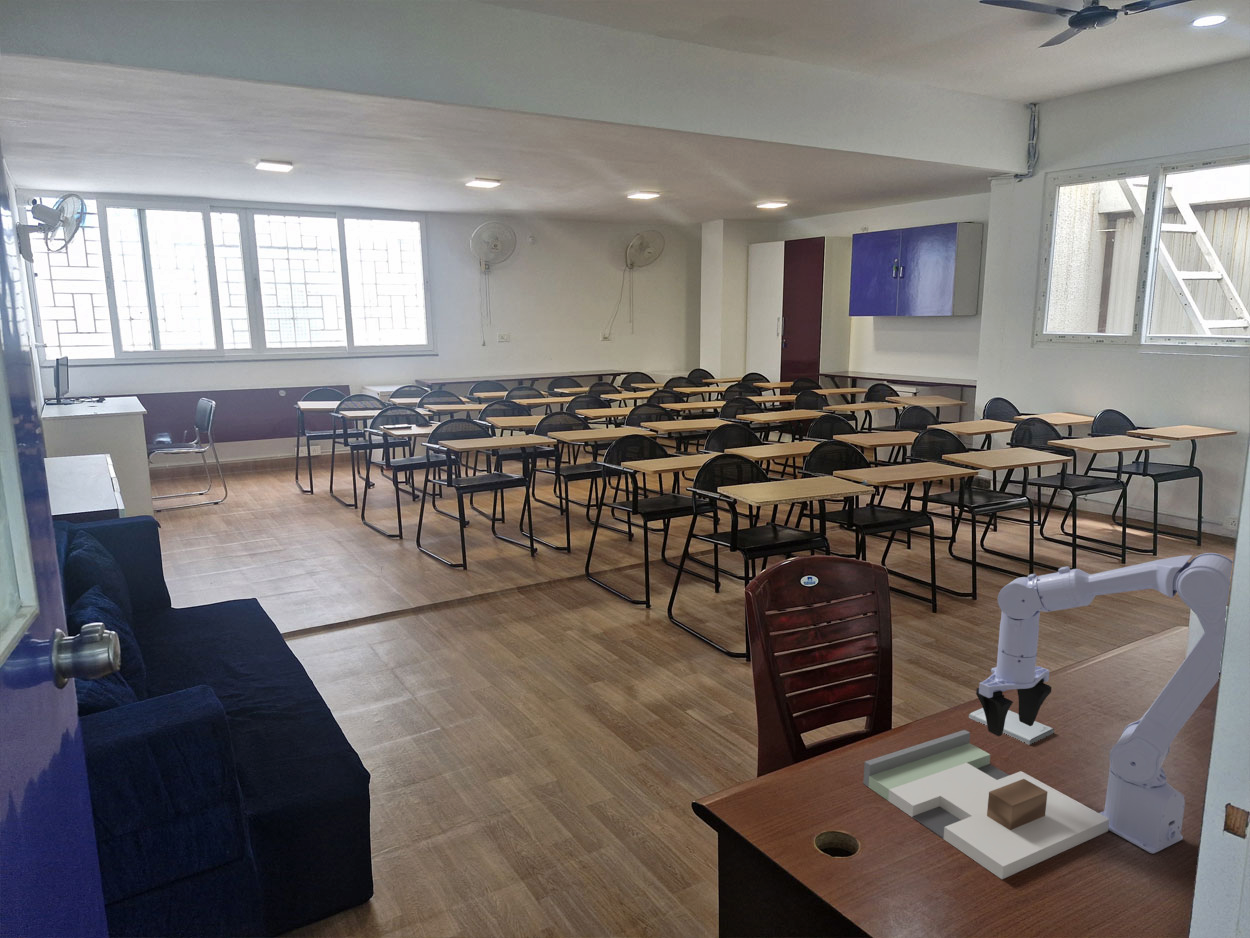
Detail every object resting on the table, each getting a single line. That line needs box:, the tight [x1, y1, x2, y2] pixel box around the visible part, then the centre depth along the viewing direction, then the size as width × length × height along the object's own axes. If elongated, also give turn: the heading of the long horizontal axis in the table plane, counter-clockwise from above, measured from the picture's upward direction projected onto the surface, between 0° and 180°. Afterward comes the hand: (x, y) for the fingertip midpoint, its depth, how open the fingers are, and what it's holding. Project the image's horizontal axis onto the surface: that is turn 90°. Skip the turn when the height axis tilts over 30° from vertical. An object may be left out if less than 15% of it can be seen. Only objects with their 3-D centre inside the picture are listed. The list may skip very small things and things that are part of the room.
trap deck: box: [862, 729, 1110, 880], centre depth 127 cm, size 27×24×4 cm
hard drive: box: [968, 707, 1055, 746], centre depth 154 cm, size 2×8×12 cm
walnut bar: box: [987, 779, 1047, 830], centre depth 121 cm, size 4×8×4 cm, turn 117°
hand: (1010, 728), depth 133 cm, fingers open, 7 cm apart
